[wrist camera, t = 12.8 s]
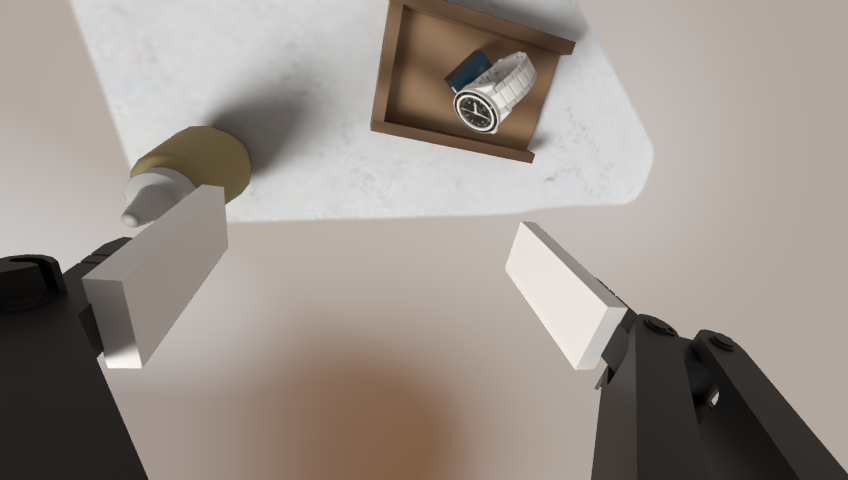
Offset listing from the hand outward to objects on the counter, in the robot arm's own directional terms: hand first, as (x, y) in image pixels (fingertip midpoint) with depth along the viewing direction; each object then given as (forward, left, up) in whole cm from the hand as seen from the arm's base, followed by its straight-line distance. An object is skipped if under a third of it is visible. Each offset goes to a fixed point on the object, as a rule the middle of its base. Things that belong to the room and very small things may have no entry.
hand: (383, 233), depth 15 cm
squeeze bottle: (+7, -16, -29) cm, 34 cm away
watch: (-7, +11, -28) cm, 31 cm away
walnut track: (-7, +10, -29) cm, 31 cm away
